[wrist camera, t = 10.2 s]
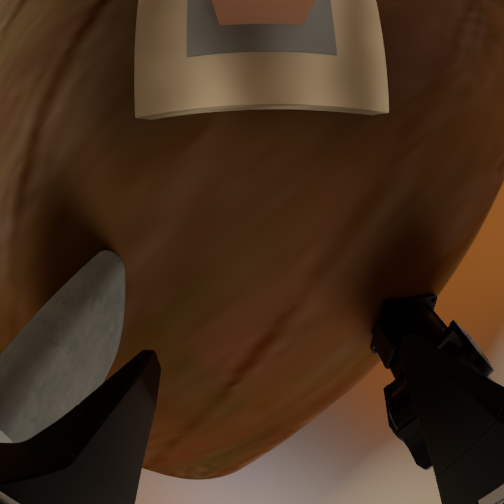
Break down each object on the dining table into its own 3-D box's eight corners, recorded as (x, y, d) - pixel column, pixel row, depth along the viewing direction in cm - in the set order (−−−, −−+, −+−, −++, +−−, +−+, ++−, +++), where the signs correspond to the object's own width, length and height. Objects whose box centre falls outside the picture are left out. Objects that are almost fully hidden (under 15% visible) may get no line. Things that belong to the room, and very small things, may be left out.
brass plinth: (348, -43, 11) (360, -60, 8) (370, 115, 17) (390, 112, 14) (157, -40, 11) (146, -57, 8) (151, 120, 17) (133, 117, 14)
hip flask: (97, 244, 21) (-62, 423, 3) (137, 261, 22) (0, 482, 3) (88, 359, 27) (24, 495, 8) (118, 373, 27) (64, 518, 9)
